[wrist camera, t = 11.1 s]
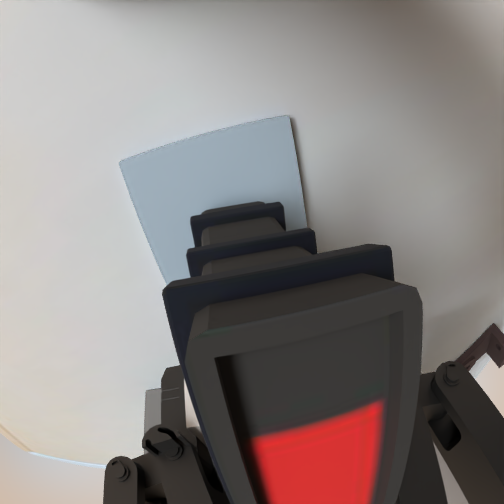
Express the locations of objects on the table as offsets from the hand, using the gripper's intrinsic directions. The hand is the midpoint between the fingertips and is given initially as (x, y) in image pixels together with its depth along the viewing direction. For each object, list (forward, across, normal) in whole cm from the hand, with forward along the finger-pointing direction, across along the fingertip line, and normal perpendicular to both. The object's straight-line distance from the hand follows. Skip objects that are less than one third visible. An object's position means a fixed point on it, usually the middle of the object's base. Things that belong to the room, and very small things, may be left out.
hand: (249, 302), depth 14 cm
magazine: (+2, 0, 0) cm, 2 cm away
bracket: (+4, +27, -25) cm, 37 cm away
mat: (+3, 0, 0) cm, 3 cm away
